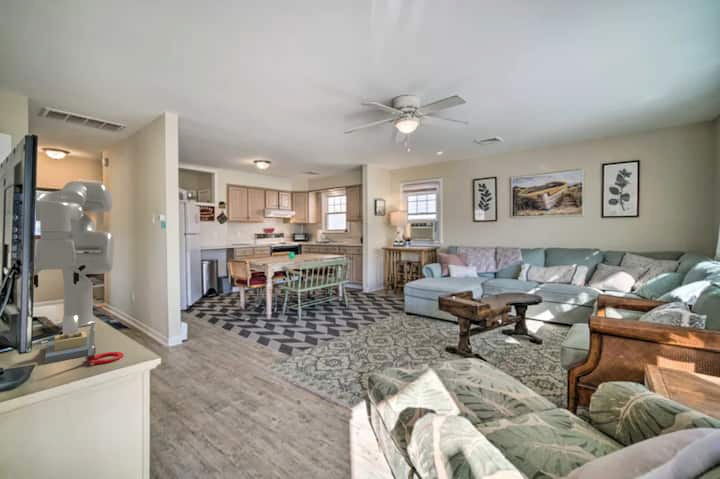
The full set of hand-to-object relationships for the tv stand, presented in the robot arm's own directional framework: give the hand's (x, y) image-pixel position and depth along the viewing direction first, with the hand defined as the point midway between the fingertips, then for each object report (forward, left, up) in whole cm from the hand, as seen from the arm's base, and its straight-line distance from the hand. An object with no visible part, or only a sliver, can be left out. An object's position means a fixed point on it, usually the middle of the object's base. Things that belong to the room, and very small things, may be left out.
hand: (56, 285), depth 109 cm
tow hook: (+22, +12, -23) cm, 34 cm away
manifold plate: (+5, +4, -23) cm, 23 cm away
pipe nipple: (+5, +4, -21) cm, 21 cm away
